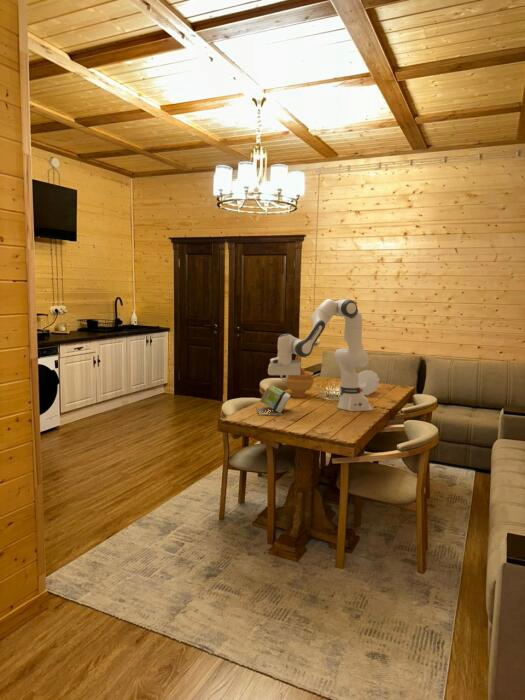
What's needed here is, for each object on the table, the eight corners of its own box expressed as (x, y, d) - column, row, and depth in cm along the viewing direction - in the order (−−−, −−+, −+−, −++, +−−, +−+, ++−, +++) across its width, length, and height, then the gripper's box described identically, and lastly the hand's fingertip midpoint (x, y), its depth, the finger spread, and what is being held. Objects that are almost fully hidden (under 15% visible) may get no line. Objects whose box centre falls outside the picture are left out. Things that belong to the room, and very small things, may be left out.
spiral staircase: (373, 396, 373) (368, 401, 350) (353, 384, 378) (347, 388, 355) (385, 376, 369) (380, 379, 346) (364, 364, 374) (359, 367, 351)
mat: (279, 407, 310) (279, 407, 310) (282, 415, 290) (282, 415, 290) (256, 407, 309) (256, 407, 309) (258, 415, 289) (258, 415, 289)
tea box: (287, 399, 292) (266, 387, 294) (280, 413, 294) (259, 402, 296) (291, 394, 307) (270, 383, 309) (284, 408, 309) (264, 397, 311)
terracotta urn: (317, 398, 340) (319, 356, 337) (288, 399, 335) (290, 357, 332) (307, 392, 361) (308, 353, 357) (280, 393, 356) (281, 353, 352)
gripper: (300, 359, 300) (299, 381, 302) (267, 359, 299) (267, 381, 301) (301, 360, 294) (301, 383, 296) (268, 360, 292) (268, 383, 294)
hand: (284, 382), depth 298 cm, fingers closed
